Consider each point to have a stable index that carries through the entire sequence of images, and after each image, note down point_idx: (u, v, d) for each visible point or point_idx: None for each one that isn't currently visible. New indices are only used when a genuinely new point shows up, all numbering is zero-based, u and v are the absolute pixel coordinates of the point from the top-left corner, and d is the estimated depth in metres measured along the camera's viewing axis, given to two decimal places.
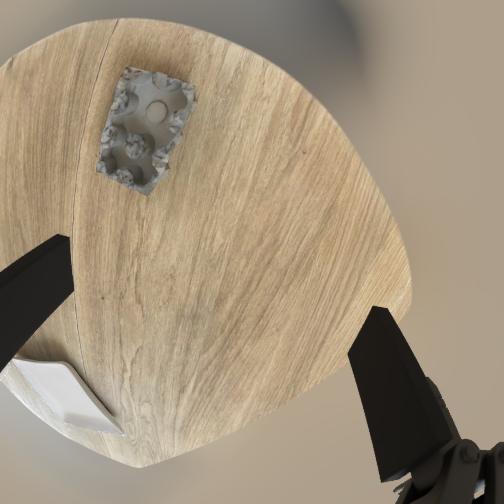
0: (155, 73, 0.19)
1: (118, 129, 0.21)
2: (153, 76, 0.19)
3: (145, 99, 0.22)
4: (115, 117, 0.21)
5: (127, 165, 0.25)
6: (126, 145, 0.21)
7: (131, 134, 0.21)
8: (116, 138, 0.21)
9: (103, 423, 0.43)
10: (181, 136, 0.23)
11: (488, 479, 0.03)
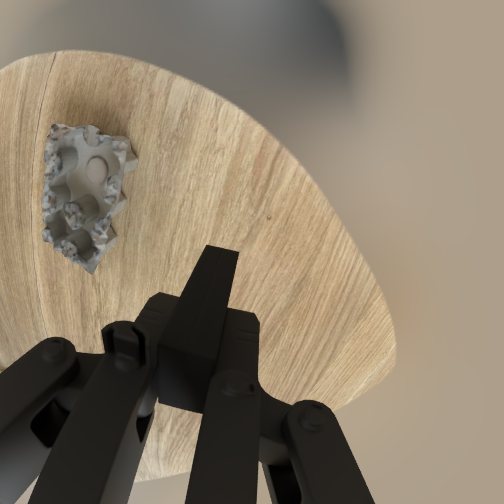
0: (85, 128, 0.15)
1: (57, 194, 0.18)
2: (84, 131, 0.16)
3: (85, 153, 0.18)
4: (54, 179, 0.18)
5: None
6: (65, 215, 0.18)
7: (67, 204, 0.17)
8: (55, 205, 0.18)
9: None
10: (123, 201, 0.19)
11: (282, 444, 0.05)
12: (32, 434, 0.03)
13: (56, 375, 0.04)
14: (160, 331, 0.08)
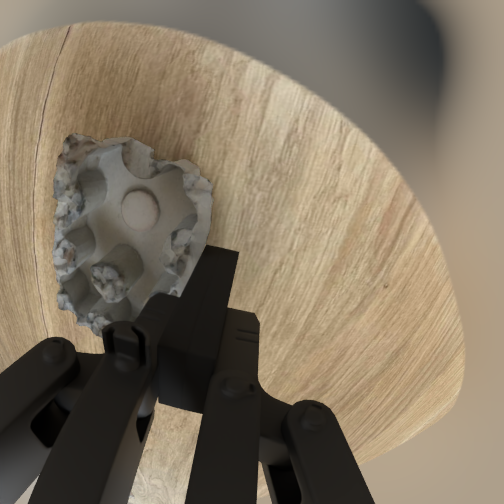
0: (126, 145, 0.10)
1: (77, 245, 0.12)
2: (123, 150, 0.10)
3: (118, 182, 0.13)
4: None
5: None
6: (94, 282, 0.12)
7: (98, 268, 0.12)
8: (75, 262, 0.12)
9: None
10: None
11: (282, 444, 0.05)
12: (32, 434, 0.03)
13: (56, 375, 0.04)
14: (160, 331, 0.08)
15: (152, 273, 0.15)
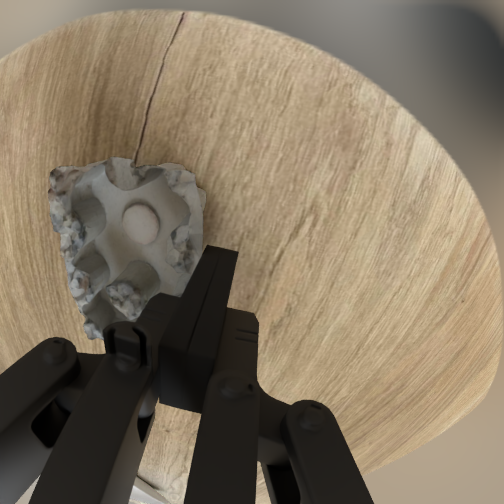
0: (107, 163, 0.10)
1: (90, 273, 0.13)
2: (107, 169, 0.11)
3: (113, 203, 0.13)
4: (77, 252, 0.13)
5: None
6: (113, 303, 0.13)
7: (112, 287, 0.12)
8: (92, 289, 0.13)
9: (145, 495, 0.34)
10: None
11: (281, 444, 0.05)
12: (33, 434, 0.03)
13: (57, 375, 0.04)
14: (161, 331, 0.08)
15: (169, 281, 0.15)
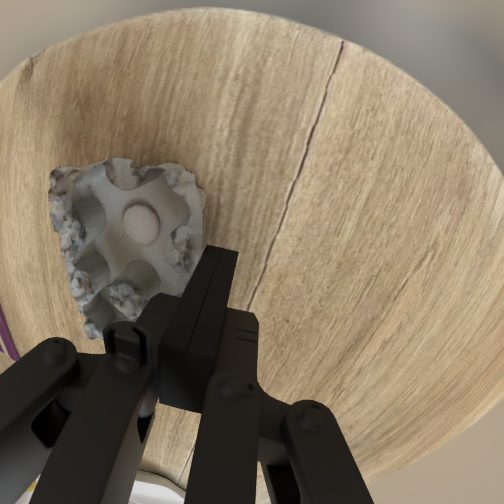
0: (107, 163, 0.10)
1: (90, 272, 0.13)
2: (107, 169, 0.11)
3: (114, 203, 0.13)
4: (77, 252, 0.13)
5: None
6: (113, 303, 0.13)
7: (112, 287, 0.12)
8: (92, 289, 0.13)
9: None
10: None
11: (281, 444, 0.05)
12: (33, 435, 0.03)
13: (57, 376, 0.04)
14: (161, 331, 0.08)
15: (169, 281, 0.15)
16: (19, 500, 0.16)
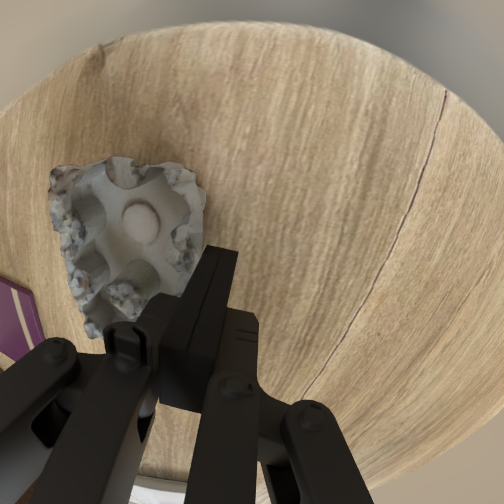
0: (107, 162, 0.10)
1: (90, 272, 0.13)
2: (107, 168, 0.11)
3: (114, 202, 0.13)
4: (77, 251, 0.13)
5: None
6: (113, 302, 0.13)
7: (112, 286, 0.12)
8: (92, 288, 0.13)
9: None
10: None
11: (281, 444, 0.05)
12: (33, 435, 0.03)
13: (57, 376, 0.04)
14: (161, 331, 0.08)
15: (169, 281, 0.15)
16: None
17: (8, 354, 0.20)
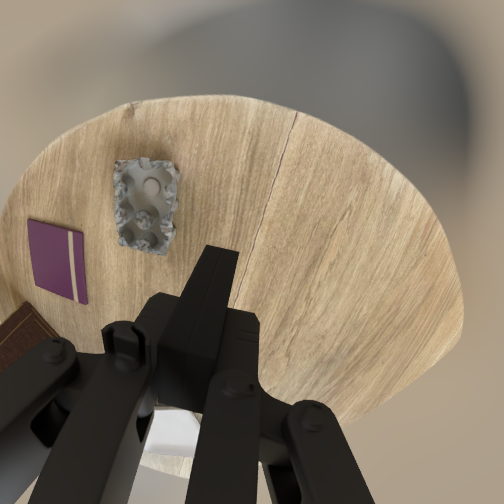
0: (139, 159, 0.27)
1: (126, 209, 0.29)
2: (139, 162, 0.27)
3: (139, 178, 0.30)
4: (120, 200, 0.29)
5: (142, 233, 0.33)
6: (137, 221, 0.29)
7: (138, 212, 0.28)
8: (126, 217, 0.29)
9: None
10: (176, 202, 0.30)
11: (282, 444, 0.05)
12: (32, 434, 0.03)
13: (56, 375, 0.04)
14: (160, 331, 0.08)
15: (163, 215, 0.32)
16: None
17: (49, 288, 0.36)
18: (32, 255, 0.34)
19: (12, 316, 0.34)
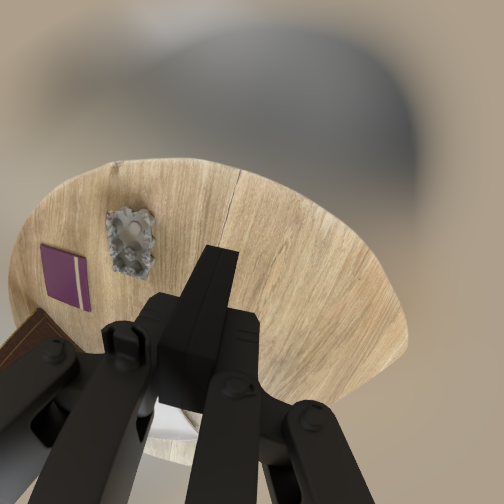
0: (124, 210, 0.37)
1: (117, 245, 0.39)
2: (124, 211, 0.37)
3: (125, 220, 0.40)
4: (112, 237, 0.39)
5: (130, 260, 0.43)
6: (125, 254, 0.39)
7: (125, 248, 0.38)
8: (117, 250, 0.39)
9: (183, 433, 0.61)
10: (153, 240, 0.40)
11: (282, 444, 0.05)
12: (32, 434, 0.03)
13: (56, 375, 0.04)
14: (160, 331, 0.08)
15: (145, 248, 0.41)
16: None
17: (59, 298, 0.46)
18: (44, 272, 0.44)
19: (28, 320, 0.44)
